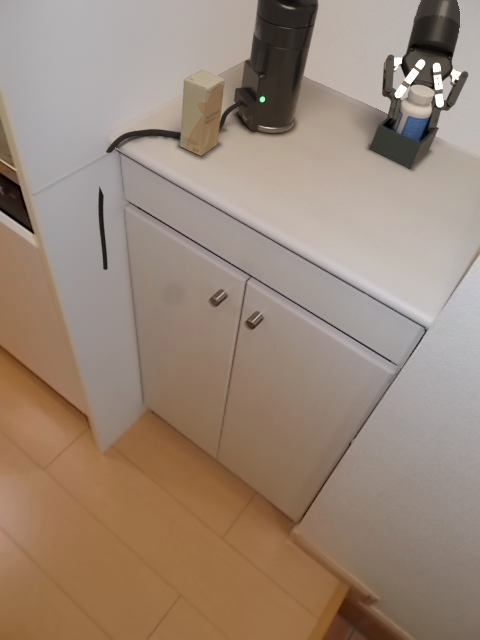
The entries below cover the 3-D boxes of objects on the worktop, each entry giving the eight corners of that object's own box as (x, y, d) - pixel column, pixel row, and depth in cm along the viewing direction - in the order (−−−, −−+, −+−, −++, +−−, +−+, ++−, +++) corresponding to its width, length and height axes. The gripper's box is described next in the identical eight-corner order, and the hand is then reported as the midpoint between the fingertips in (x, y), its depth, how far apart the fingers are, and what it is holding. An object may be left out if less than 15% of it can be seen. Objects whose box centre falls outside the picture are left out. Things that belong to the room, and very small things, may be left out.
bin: (410, 168, 89) (420, 144, 86) (369, 149, 92) (378, 124, 88) (428, 151, 94) (439, 127, 91) (389, 132, 96) (398, 109, 93)
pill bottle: (422, 147, 93) (446, 94, 85) (405, 156, 90) (428, 102, 82) (397, 132, 95) (418, 79, 87) (380, 141, 92) (400, 87, 85)
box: (200, 157, 84) (206, 89, 75) (178, 146, 85) (181, 79, 76) (218, 143, 87) (226, 77, 78) (197, 133, 88) (202, 67, 80)
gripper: (399, 4, 83) (372, 111, 84) (489, 23, 83) (460, 131, 84) (388, 27, 91) (364, 125, 92) (470, 45, 90) (444, 143, 91)
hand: (410, 127), depth 88 cm, fingers closed on pill bottle, 5 cm apart
